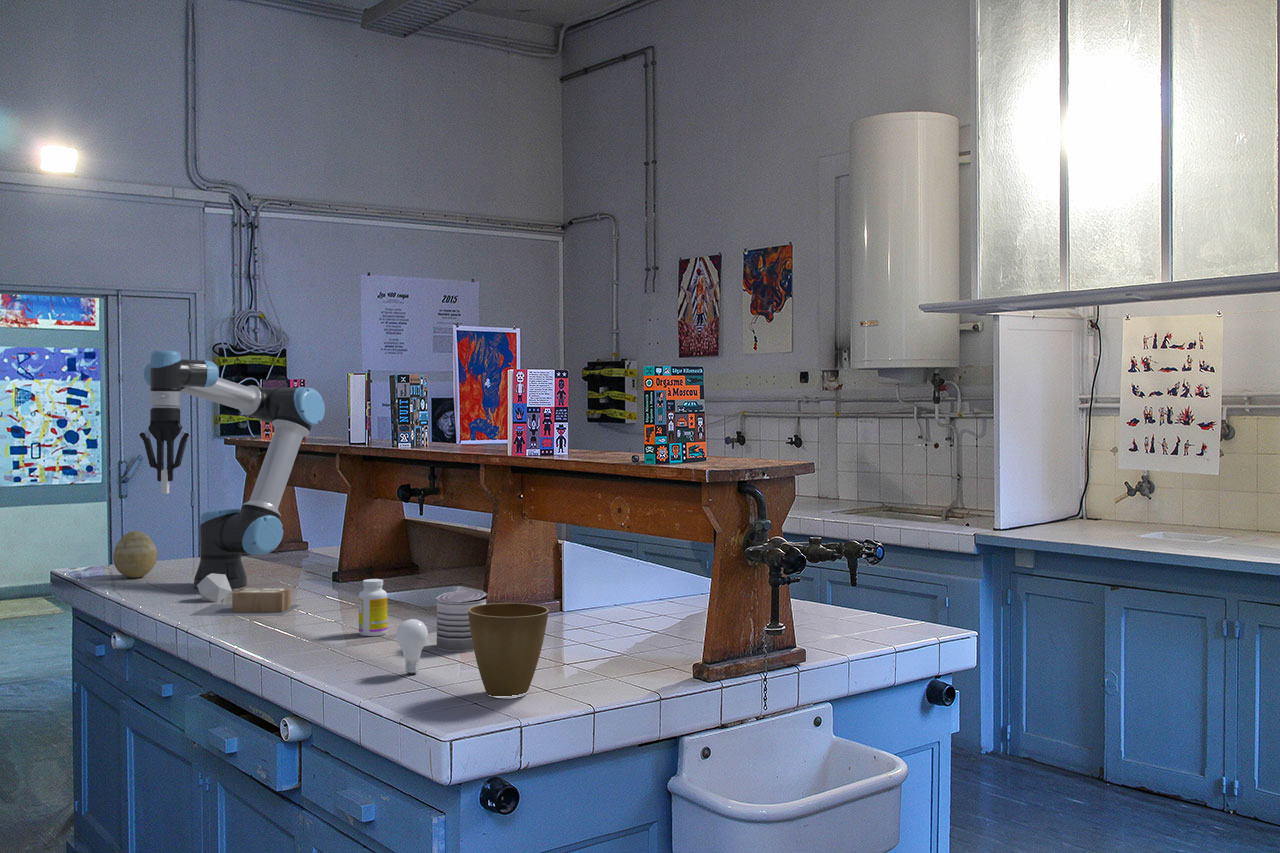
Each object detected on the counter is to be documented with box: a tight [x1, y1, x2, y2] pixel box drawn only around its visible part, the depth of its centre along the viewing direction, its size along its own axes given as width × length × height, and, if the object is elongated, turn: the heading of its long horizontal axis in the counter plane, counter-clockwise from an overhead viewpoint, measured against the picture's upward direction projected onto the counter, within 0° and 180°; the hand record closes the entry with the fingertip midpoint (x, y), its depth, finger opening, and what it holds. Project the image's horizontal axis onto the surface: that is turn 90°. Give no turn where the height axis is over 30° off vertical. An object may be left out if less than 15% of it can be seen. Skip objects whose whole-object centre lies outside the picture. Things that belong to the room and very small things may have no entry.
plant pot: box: [468, 602, 550, 696], centre depth 201 cm, size 15×15×16 cm
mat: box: [189, 604, 301, 617], centre depth 285 cm, size 16×24×1 cm, turn 91°
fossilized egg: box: [112, 530, 158, 579], centre depth 344 cm, size 13×13×15 cm
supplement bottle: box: [358, 578, 388, 637], centre depth 257 cm, size 7×7×13 cm
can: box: [434, 589, 489, 653], centre depth 243 cm, size 11×11×12 cm
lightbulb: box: [395, 618, 429, 675], centre depth 217 cm, size 6×6×11 cm
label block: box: [231, 588, 292, 612], centre depth 285 cm, size 7×5×13 cm
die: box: [197, 573, 233, 603], centre depth 300 cm, size 8×9×10 cm
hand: (165, 493), depth 295 cm, fingers closed
